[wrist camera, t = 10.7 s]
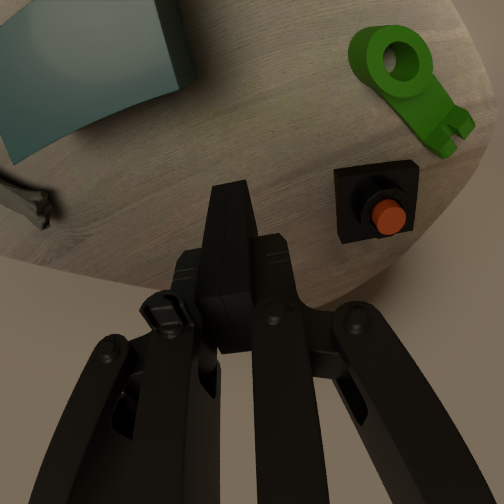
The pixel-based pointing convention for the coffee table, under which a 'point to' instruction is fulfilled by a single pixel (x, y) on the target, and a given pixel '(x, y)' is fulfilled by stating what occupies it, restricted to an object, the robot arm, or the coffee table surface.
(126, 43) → the tin lid
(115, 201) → the coffee table surface
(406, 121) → the green ring bracket
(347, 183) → the control block
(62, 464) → the robot arm
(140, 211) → the coffee table surface
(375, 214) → the button
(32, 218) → the bone
